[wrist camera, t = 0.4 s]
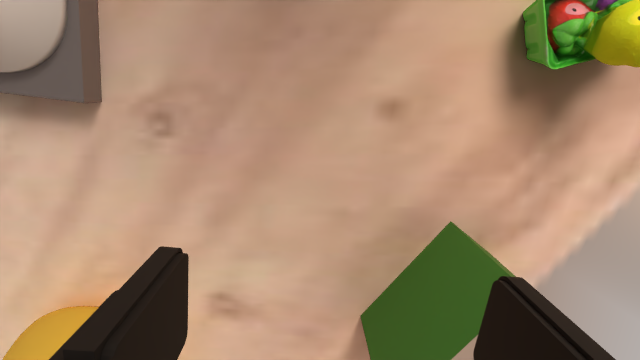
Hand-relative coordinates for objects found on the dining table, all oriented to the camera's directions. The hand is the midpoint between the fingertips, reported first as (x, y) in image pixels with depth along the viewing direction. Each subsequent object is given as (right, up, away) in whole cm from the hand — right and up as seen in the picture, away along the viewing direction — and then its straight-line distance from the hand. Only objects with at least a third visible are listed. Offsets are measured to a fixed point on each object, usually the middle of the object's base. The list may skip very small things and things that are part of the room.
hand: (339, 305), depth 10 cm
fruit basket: (+26, +20, +27) cm, 43 cm away
